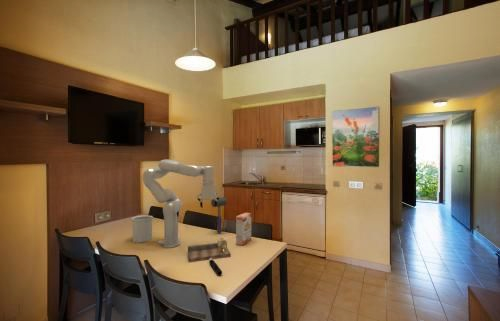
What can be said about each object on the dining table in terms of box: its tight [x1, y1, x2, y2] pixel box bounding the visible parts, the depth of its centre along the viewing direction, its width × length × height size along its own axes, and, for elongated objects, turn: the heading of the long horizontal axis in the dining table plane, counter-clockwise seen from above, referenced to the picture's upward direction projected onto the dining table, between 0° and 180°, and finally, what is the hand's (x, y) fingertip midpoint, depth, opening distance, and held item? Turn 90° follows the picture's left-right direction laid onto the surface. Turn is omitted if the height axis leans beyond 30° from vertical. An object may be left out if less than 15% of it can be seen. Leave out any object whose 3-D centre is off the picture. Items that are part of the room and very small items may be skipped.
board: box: [187, 241, 232, 263], centre depth 153 cm, size 26×14×5 cm, turn 107°
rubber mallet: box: [210, 196, 228, 234], centre depth 198 cm, size 12×8×30 cm, turn 136°
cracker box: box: [235, 212, 252, 246], centre depth 175 cm, size 14×6×21 cm, turn 153°
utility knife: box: [209, 258, 223, 276], centre depth 135 cm, size 22×4×3 cm, turn 26°
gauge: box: [216, 236, 227, 253], centre depth 154 cm, size 5×11×7 cm, turn 17°
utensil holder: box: [131, 215, 154, 244], centre depth 184 cm, size 15×15×18 cm
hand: (208, 207), depth 168 cm, fingers open, 9 cm apart
